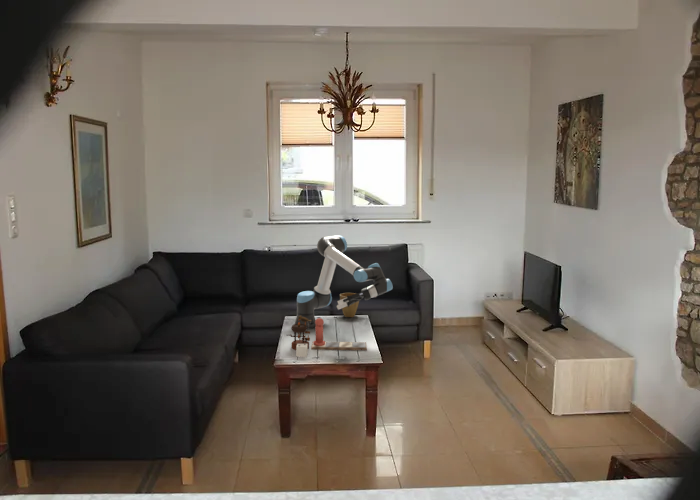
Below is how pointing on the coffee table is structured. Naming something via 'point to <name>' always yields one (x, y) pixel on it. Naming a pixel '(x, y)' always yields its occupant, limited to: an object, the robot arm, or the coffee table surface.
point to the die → (301, 350)
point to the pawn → (319, 332)
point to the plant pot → (352, 308)
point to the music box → (299, 329)
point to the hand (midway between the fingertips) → (337, 305)
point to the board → (341, 346)
